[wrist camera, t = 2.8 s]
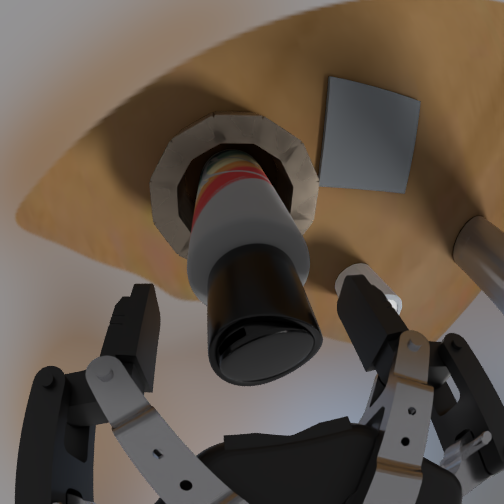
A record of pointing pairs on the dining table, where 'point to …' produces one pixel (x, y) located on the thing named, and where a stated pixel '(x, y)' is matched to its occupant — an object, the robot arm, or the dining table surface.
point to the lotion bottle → (250, 274)
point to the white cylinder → (373, 280)
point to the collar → (229, 131)
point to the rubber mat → (367, 137)
